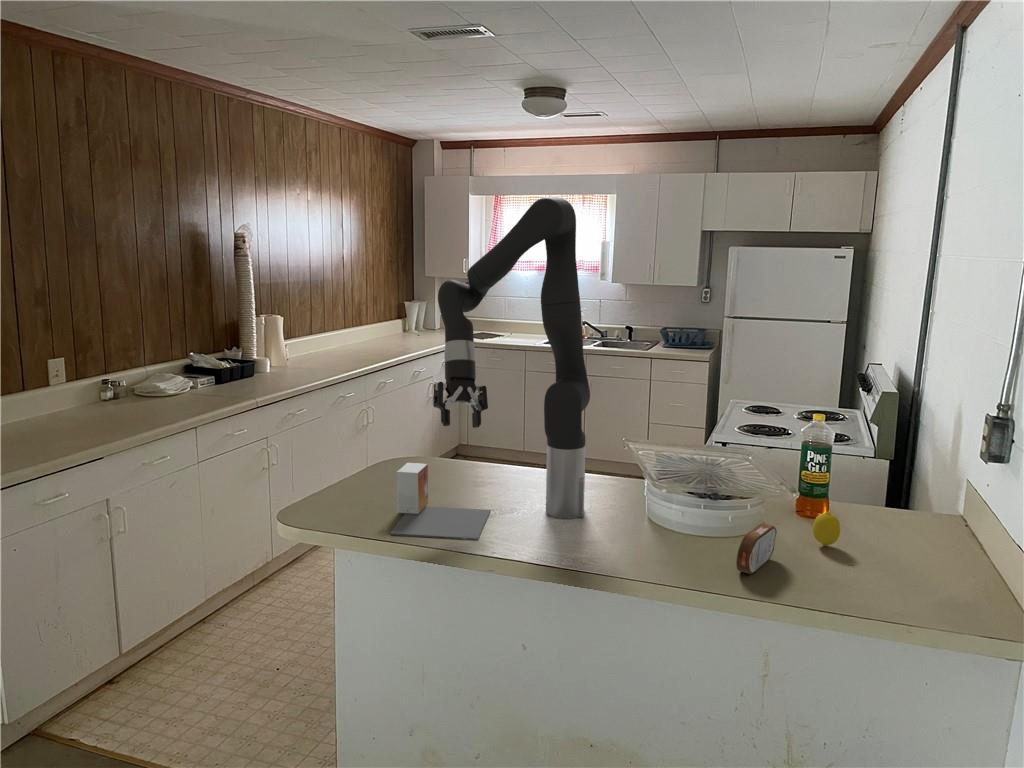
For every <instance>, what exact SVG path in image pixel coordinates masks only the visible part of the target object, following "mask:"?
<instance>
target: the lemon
mask: <svg viewBox="0 0 1024 768" xmlns="http://www.w3.org/2000/svg"><path fill="white" fill-rule="evenodd" d="M813 521H814V522H813V525H812V533H813V537H814V538H815V540H816V541H817V542H818V543H819V544H821V545H822V546H823V547H828V546H830V545H833V544H835V543H836V542H838V539H839V538H840V535H841V524H840V521H839V519H838V518H837V516H835V515H834V514H833V513H831V512H830V511H826V512H823V513H821V514H818V515H817V516H816V518H815V519H814V520H813Z"/></svg>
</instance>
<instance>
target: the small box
mask: <svg viewBox="0 0 1024 768" xmlns="http://www.w3.org/2000/svg"><path fill="white" fill-rule="evenodd" d="M428 465H429V464H428V463H417V462H406V463H405V464H404V465H403V466H402V467H401V468H400V469H398V470H397V471H396V472H395V473H396V474H395V475H396V476H395V477H396V478H395V479H396V480H395V481H396V513H397V514H405V513H407V514H419V513H420V512H421V511H422V510H423V509H424V508H425V507H426V506H428V505H429V476H428V474H429V473H428V472H429V469H428Z"/></svg>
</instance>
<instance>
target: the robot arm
mask: <svg viewBox="0 0 1024 768" xmlns="http://www.w3.org/2000/svg"><path fill="white" fill-rule="evenodd" d="M576 239H577V217H576V212H575V209H574V207H573V205H572V204H571V202H569V201H568V200H567V199H564V198H561V197H551V196H550V197H548V196H545V197H544V196H543V197H540V198H538V199H537V200H536V201H534V202H533V204H531V205H530V207H529V208H528V209H527V210H526V211H525V213H524V214H523V215H522V216H521V218H519V220H518V222H516V223H515V225H513V227H512V228H511V229H510V230H509V232H507V234H505V236H504V237H503V238H501V240H499V242H497V243H496V244H495V246H493V247H492V248H491V249H490V250H488V252H487V253H485V254H484V255H483V256H482V257H481V258H479V259H478V260H476V262H475V263H473V265H471V266H470V268H469V269H468V270H467V273H466V274H467V275H466V277H467V280H468V282H467V283H463V282H460V281H457V280H455V279H447V280H445V281H444V282H443V283H442V284H441V285H440V287H439V289H438V292H437V293H438V294H437V303H438V308H439V311H440V315H441V319H442V322H443V325H444V344H445V345H444V354H443V355H444V379H445V382H443V381H437V382H436V383H434V384H433V397H432V398H433V399H432V401H433V402H432V406H433V408H435V409H439V411H440V422H441V424H442V426H443V427H449V426H450V425H451V411H450V408H451V406H452V405H453V404H454V403H458V402H459V403H461V404H462V403H463V404H464V403H465V404H466V405H467V406H469V408H470V409H471V411H472V412H471V413H472V414H471V421H472V422H471V423H472V426H471V427H472V428H473V429H474V428H475V429H477V428H480V427H481V425H482V412H483V411H486V410H487V409H488V408H489V404H488V403H489V402H488V392H487V389H488V388H487V386H486V385H481V386H479V385H477V386H476V383H475V381H476V377H477V376H476V373H477V372H476V370H477V369H476V350H475V344H474V343H475V340H474V339H475V338H474V325H473V322H472V320H471V319H469V318H467V317H466V316H465V314H464V313H469V312H471V311H474V310H475V309H476V308H477V307H478V306H479V305H480V304H481V302H482V301H483V299H484V298H485V297H486V295H487V293H488V292H489V290H490V289H491V288H493V287H494V286H495V285H496V284H498V283H499V282H500V281H501V280H502V279H503V278H505V277H506V276H507V275H508V274H509V273H510V271H512V269H513V268H514V266H516V264H517V263H518V262H519V259H520V258H521V257H522V256H523V255H524V254H525V253H527V252H528V251H529V250H530V249H531V248H532V247H534V246H536V245H537V244H539V243H540V242H543V241H544V243H545V244H544V245H545V252H546V265H545V266H546V267H545V273H544V276H543V281H542V286H541V291H540V306H541V307H540V308H541V310H540V311H541V320H542V325H543V326H542V327H543V329H544V332H545V334H546V337H547V341H548V342H549V345H550V349H551V351H552V354H553V357H554V364H555V368H554V369H555V382H554V383H552V384H551V385H550V386H549V387H548V388H547V389H546V391H545V395H544V399H543V400H544V401H543V403H544V404H543V415H544V417H543V421H544V434H545V436H546V471H545V472H546V475H545V476H546V477H545V478H546V481H545V483H546V485H545V486H546V488H545V512H546V514H547V515H548V516H550V517H553V518H555V519H556V518H557V519H575V518H583V517H584V513H585V490H586V489H585V488H586V487H585V485H586V484H585V480H586V473H585V472H586V470H585V469H586V467H585V466H586V441H587V440H586V434H585V432H584V431H583V428H582V425H583V423H582V419H583V418H582V416H583V415H582V414H583V411H584V410H586V409H587V407H588V405H589V403H590V400H591V390H590V386H589V385H590V384H589V379H588V374H587V369H586V368H587V367H586V364H585V357H584V340H583V339H584V337H583V325H582V324H583V323H582V308H581V307H582V305H581V299H580V298H581V297H580V296H581V295H580V290H579V276H578V268H577V254H576V251H577V250H576V249H577V248H576V247H577V245H576V244H577V242H576ZM445 391H446V393H447V395H446V396H445V397H444V392H445ZM476 395H477V396H476Z"/></svg>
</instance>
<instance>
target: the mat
mask: <svg viewBox="0 0 1024 768" xmlns="http://www.w3.org/2000/svg"><path fill="white" fill-rule="evenodd" d="M490 511H491V509H482V508H481V509H480V508H467V507H466V508H464V507H463V508H461V507H460V508H459V507H445V506H443V507H442V506H428V505H426V507H425V508H424V509H423V510H422V511H421V512H420V513H419V514H407V513H403V516H402V517H401V518H400V519H399V521H398V522H397V524H396V525H395V526H394V527H393V529H392V531H391V532H390V535H391V536H401V537H402V536H405V537H418V538H419V537H420V538H422V537H423V538H435V537H446V538H445V539H451V538H467V539H466V540H468V539H478V538H480V537H479V536H481V534H482V532H481V531H483V530H482V529H484V528H483V527H485V525H486V523H487V521H488V519H487V518H489V516H490V514H491V512H490ZM447 537H448V538H447ZM478 540H479V539H478Z"/></svg>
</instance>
